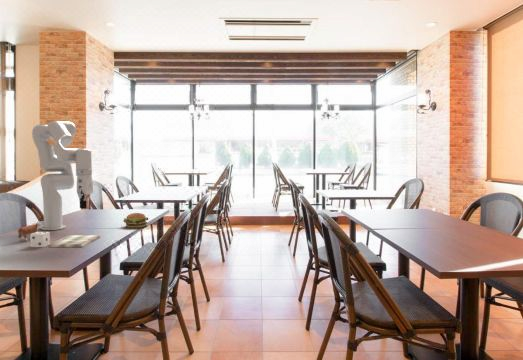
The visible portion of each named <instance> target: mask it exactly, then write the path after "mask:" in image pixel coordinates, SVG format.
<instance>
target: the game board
mask: <svg viewBox="0 0 523 360" xmlns="http://www.w3.org/2000/svg"><path fill="white" fill-rule="evenodd" d="M99 238H101V235H97V234H95V235H89V234H88V235H87V234H86V235H83V234H82V235H80V234H79V235H74V234H72V235H67V236H65V237H63V238H60V239H58V240H55V241H54V242H50V244H49V245H47V246H48V247H49V248H84V247H86V246H87V245H90V243H92V242H94V241H96V240H98V239H99Z"/></svg>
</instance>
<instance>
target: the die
mask: <svg viewBox="0 0 523 360" xmlns="http://www.w3.org/2000/svg"><path fill="white" fill-rule="evenodd" d="M50 235H51V232H50V231H36V232H35V233H32V234H29V239H30V240H29V242H30V243H29V244H30V248H44V247H47V246H48V245H49V244H51V236H50Z"/></svg>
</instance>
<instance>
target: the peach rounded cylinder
mask: <svg viewBox="0 0 523 360" xmlns="http://www.w3.org/2000/svg"><path fill="white" fill-rule="evenodd" d="M82 195H84V194H82ZM83 197H84V196H83ZM89 200H90V199H89V197H88V195H86V200H85V201H86V207H87V208H80V210H83V211H86V210H90V207H89Z"/></svg>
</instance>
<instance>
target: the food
mask: <svg viewBox="0 0 523 360" xmlns="http://www.w3.org/2000/svg"><path fill="white" fill-rule="evenodd" d="M122 221H123V223H125V227H127V228H130V229H136V228H137V229H138V228H139V229H140V228H143V227H144V228H145V227H146V226H147V224H148V221H149V217H147V216H146V215H145V214H144V213H140V212H133V213H132V212H131V213H130V214H127V216H126V217H124V218H123V220H122Z"/></svg>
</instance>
